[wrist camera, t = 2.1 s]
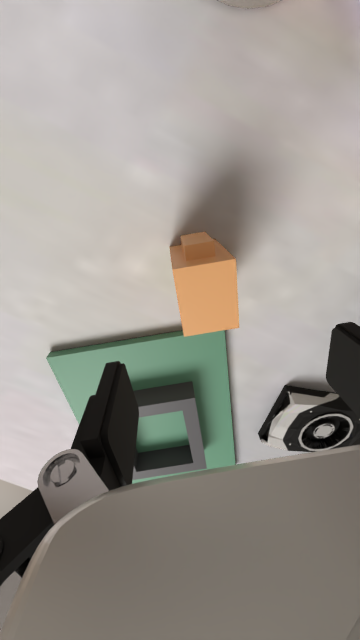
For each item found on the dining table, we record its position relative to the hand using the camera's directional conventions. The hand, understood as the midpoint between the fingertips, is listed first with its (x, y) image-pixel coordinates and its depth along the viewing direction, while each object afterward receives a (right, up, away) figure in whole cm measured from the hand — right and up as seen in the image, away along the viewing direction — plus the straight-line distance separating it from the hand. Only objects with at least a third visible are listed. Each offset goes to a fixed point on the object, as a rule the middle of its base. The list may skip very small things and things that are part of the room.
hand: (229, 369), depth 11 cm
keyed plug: (-1, +7, +12) cm, 14 cm away
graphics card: (+21, -11, +23) cm, 33 cm away
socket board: (-5, -10, +20) cm, 23 cm away
